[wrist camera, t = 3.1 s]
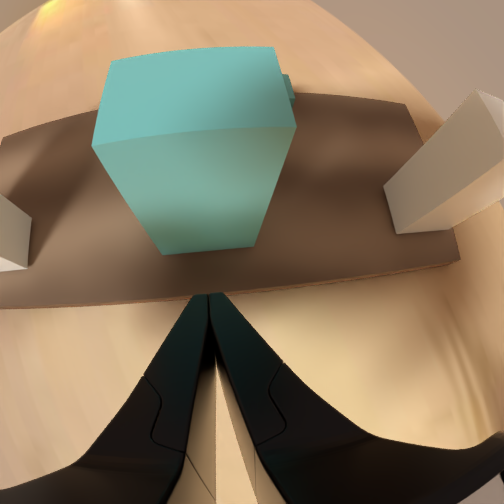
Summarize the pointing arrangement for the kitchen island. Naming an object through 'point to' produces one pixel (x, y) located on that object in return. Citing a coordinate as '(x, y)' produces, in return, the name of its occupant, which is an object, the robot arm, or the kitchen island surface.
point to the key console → (228, 260)
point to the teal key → (196, 143)
